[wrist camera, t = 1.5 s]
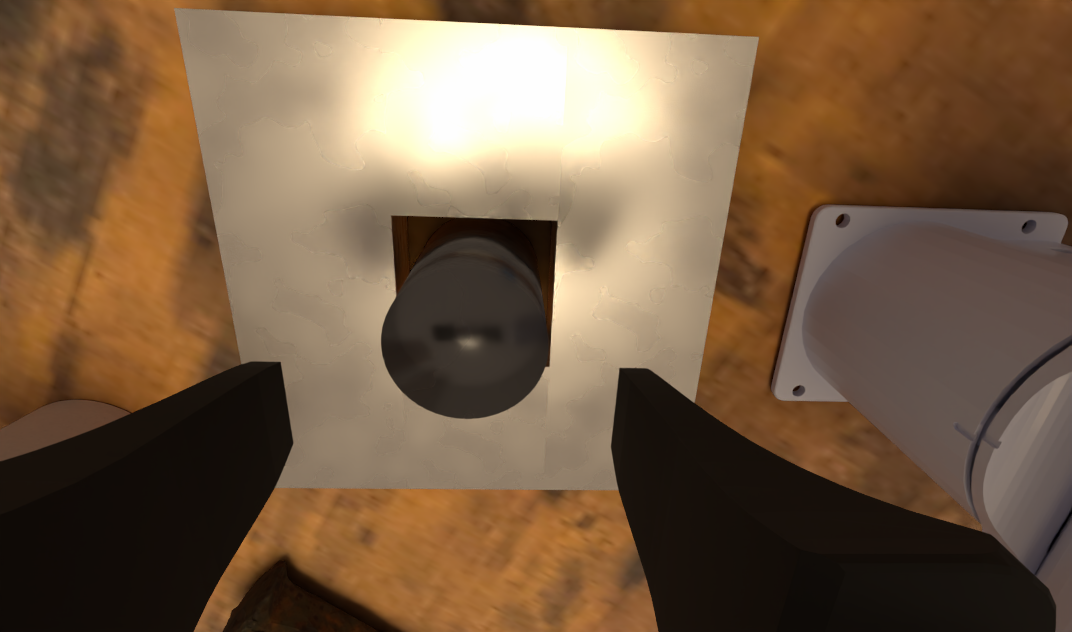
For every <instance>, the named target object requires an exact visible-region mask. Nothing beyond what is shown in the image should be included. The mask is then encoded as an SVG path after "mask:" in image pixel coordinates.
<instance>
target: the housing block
mask: <svg viewBox="0 0 1072 632" xmlns="http://www.w3.org/2000/svg"><path fill="white" fill-rule="evenodd" d="M174 10H175V15H176V20H177V25H178V31H179V36H180V41H181V47H182V52H183V57H184V62H185V68H186V73H187V78H188V84H189V89H190V94H191V99H192V105H193V110H194V115H195V121H196V126H197V131H198V137H199V142H200V147H201V152H202V158H203V163H204V168H205V174H206V179H207V184H208V189H209V195H210V200H211V205H212V211H213V216H214V221H215V227H216V232H217V237H218V242H219V248H220V253H221V258H222V264H223V269H224V274H225V279H226V285H227V290H228V295H229V301H230V306H231V311H232V316H233V322H234V327H235V332H236V338H237V343H238V348H239V354H240V359H241V364H244V363H247V362H251V361H263V362H281V367H282V373H283V379H284V386H285V392H286V398H287V405H288V411H289V417H290V424H291V430H292V436H293V443H294V444H293V446H292V449H291V451H290V454H289V456H288V459H287V461H286V464H285V466H284V469H283V471H282V473H281V476H280V478H279V480H278V482H277V484H276V486H275V488H372V489H522V490H618V486H617V481H616V475H615V470H614V464H613V457H612V451H611V440H612V431H613V422H614V413H615V404H616V395H617V386H618V377H619V368H648V369H649V370H651V371H653V372H654V373H655V374H657V375H658V376H660V377H661V378H662V379H664V380H665V381H666V382H667V383H669V384H670V385H671V386H673V387H674V388H675V389H677V390H678V391H679V392H680V393H682V394H683V395H684V396H686V397H687V398H688V399H690V400H691V401H692V402H694V403H695V397H696V392H697V386H698V380H699V375H700V369H701V363H702V358H703V352H704V346H705V341H706V335H707V329H708V323H709V318H710V312H711V306H712V301H713V295H714V289H715V284H716V278H717V272H718V267H719V261H720V255H721V250H722V244H723V238H724V233H725V227H726V221H727V216H728V210H729V204H730V199H731V193H732V187H733V182H734V176H735V170H736V165H737V159H738V153H739V148H740V142H741V136H742V131H743V125H744V119H745V114H746V108H747V102H748V97H749V91H750V85H751V80H752V74H753V68H754V62H755V57H756V51H757V45H758V40H759V37H747V36H727V35H707V34H687V33H667V32H646V31H626V30H606V29H586V28H565V27H545V26H525V25H505V24H485V23H464V22H444V21H424V20H404V19H384V18H363V17H343V16H323V15H303V14H282V13H262V12H242V11H222V10H202V9H181V8H174ZM407 216H428V217H460V218H492V219H523V220H552V226H551V246H550V265H549V285H548V304H547V323H546V326H547V333H548V340H549V351H548V359H547V363H546V366H545V369H544V372H543V374H542V376H541V378H540V380H539V382H538V383H537V385H536V386H535V387H534V389H533V390H532V391H531V392H530V393H529V394H528V395H527V396H526V397H525V398H524V399H523V400H522V401H520V402H519V403H518V404H516V405H515V406H513V407H511V408H510V409H508V410H506V411H504V412H501V413H499V414H496V415H492V416H489V417H484V418H477V419H458V418H451V417H446V416H442V415H439V414H436V413H433V412H431V411H429V410H426V409H424V408H423V407H421V406H419V405H417V404H416V403H415V402H413V401H412V400H411V399H409V398H408V397H407V396H406V395H405V394H404V393H403V392H402V391H401V390H400V389H399V388H398V387H397V385H396V384H395V383H394V381H393V380H392V378H391V376H390V375H389V373H388V370H387V368H386V366H385V363H384V360H383V356H382V350H381V333H382V326H383V323H384V320H385V317H386V314H387V312H388V310H389V308H390V306H391V305H392V303H393V301H394V299H395V298H396V296H397V294H398V292H399V291H400V289H401V287H402V285H403V284H404V282H405V280H406V279H407V277H408V275H409V273H410V270H409V250H408V231H407Z"/></svg>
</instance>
